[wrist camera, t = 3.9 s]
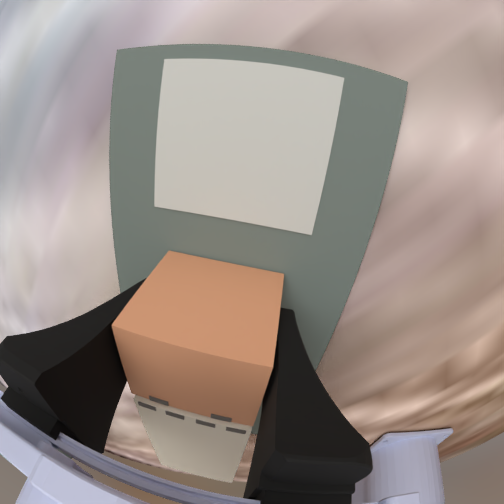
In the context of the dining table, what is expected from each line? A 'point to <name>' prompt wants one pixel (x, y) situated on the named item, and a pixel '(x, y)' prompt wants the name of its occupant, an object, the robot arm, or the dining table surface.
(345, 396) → the dining table surface
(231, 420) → the stub
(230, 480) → the cream rectangular block
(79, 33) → the dining table surface
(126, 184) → the mat
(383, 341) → the dining table surface
